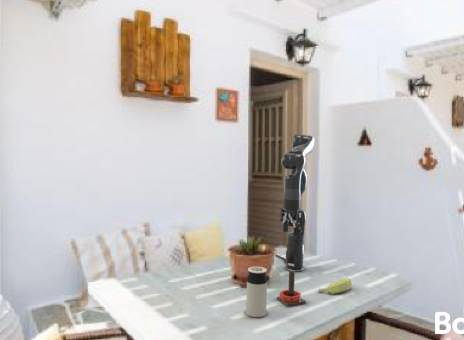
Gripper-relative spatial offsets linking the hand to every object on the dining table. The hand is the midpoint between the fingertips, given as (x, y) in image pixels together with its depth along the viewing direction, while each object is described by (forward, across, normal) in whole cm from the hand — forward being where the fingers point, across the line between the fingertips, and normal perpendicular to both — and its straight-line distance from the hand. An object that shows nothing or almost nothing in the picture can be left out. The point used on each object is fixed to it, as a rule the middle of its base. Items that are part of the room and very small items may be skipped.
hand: (290, 233), depth 175 cm
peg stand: (+28, -8, +4) cm, 29 cm away
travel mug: (+28, -13, +24) cm, 39 cm away
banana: (+28, -3, -24) cm, 37 cm away
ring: (+27, -7, +4) cm, 28 cm away
